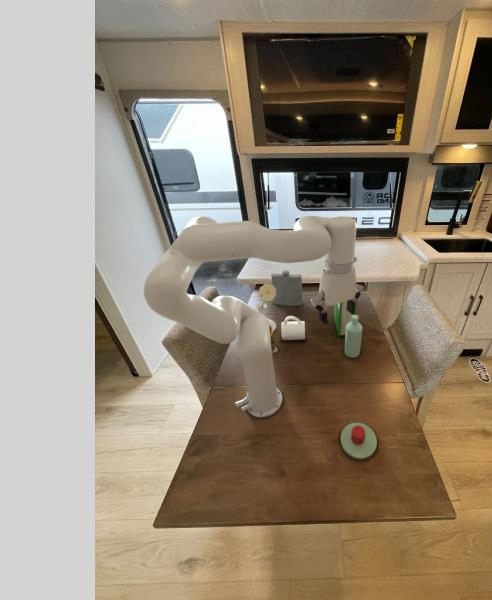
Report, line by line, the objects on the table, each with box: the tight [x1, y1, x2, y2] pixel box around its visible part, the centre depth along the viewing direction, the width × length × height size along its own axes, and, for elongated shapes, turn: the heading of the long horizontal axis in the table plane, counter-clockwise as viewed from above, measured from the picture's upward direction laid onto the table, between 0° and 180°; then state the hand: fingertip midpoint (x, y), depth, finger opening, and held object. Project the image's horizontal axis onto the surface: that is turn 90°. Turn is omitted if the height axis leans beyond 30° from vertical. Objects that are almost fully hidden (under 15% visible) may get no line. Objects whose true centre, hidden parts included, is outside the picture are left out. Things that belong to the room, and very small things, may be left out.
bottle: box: [344, 314, 363, 359], centre depth 109 cm, size 7×7×19 cm
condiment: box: [269, 325, 279, 354], centre depth 112 cm, size 7×8×12 cm
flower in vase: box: [255, 282, 277, 333], centre depth 120 cm, size 13×11×25 cm
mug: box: [280, 315, 306, 341], centre depth 119 cm, size 8×10×12 cm
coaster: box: [340, 422, 378, 460], centre depth 81 cm, size 11×11×1 cm
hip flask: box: [270, 269, 304, 307], centre depth 141 cm, size 16×4×20 cm, turn 86°
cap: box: [351, 426, 365, 445], centre depth 80 cm, size 4×4×4 cm
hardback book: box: [333, 301, 358, 338], centre depth 124 cm, size 18×7×24 cm, turn 4°
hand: (337, 316), depth 80 cm, fingers open, 9 cm apart
